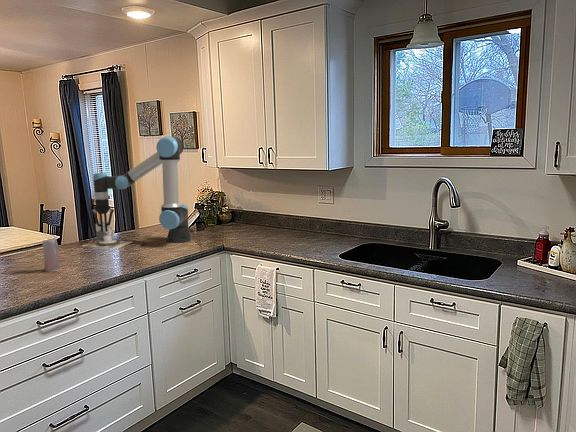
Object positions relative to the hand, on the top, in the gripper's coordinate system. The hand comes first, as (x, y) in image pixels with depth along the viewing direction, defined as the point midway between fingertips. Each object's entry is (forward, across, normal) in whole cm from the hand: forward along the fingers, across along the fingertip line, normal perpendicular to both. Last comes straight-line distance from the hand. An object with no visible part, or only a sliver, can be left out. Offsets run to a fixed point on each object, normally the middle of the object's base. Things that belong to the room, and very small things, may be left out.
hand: (104, 236), depth 267 cm
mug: (+5, -1, -13) cm, 14 cm away
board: (+4, -1, +7) cm, 8 cm away
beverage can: (+4, +26, +51) cm, 57 cm away
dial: (+3, 0, +5) cm, 6 cm away
